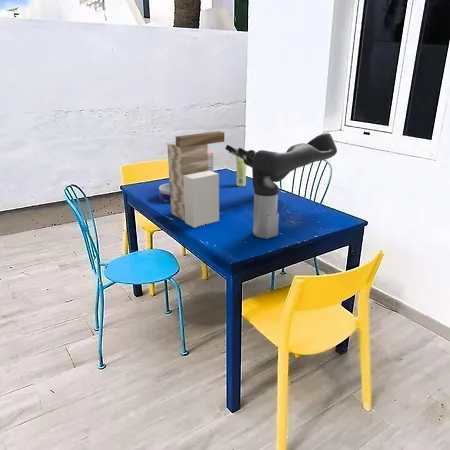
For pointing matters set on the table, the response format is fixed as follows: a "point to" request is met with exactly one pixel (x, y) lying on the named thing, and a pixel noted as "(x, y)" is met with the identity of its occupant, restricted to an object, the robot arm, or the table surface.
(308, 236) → the table surface
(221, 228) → the table surface
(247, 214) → the table surface
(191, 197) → the white block
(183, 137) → the light brown wooden block
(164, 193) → the dog bowl
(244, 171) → the tube
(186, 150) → the birch stand
